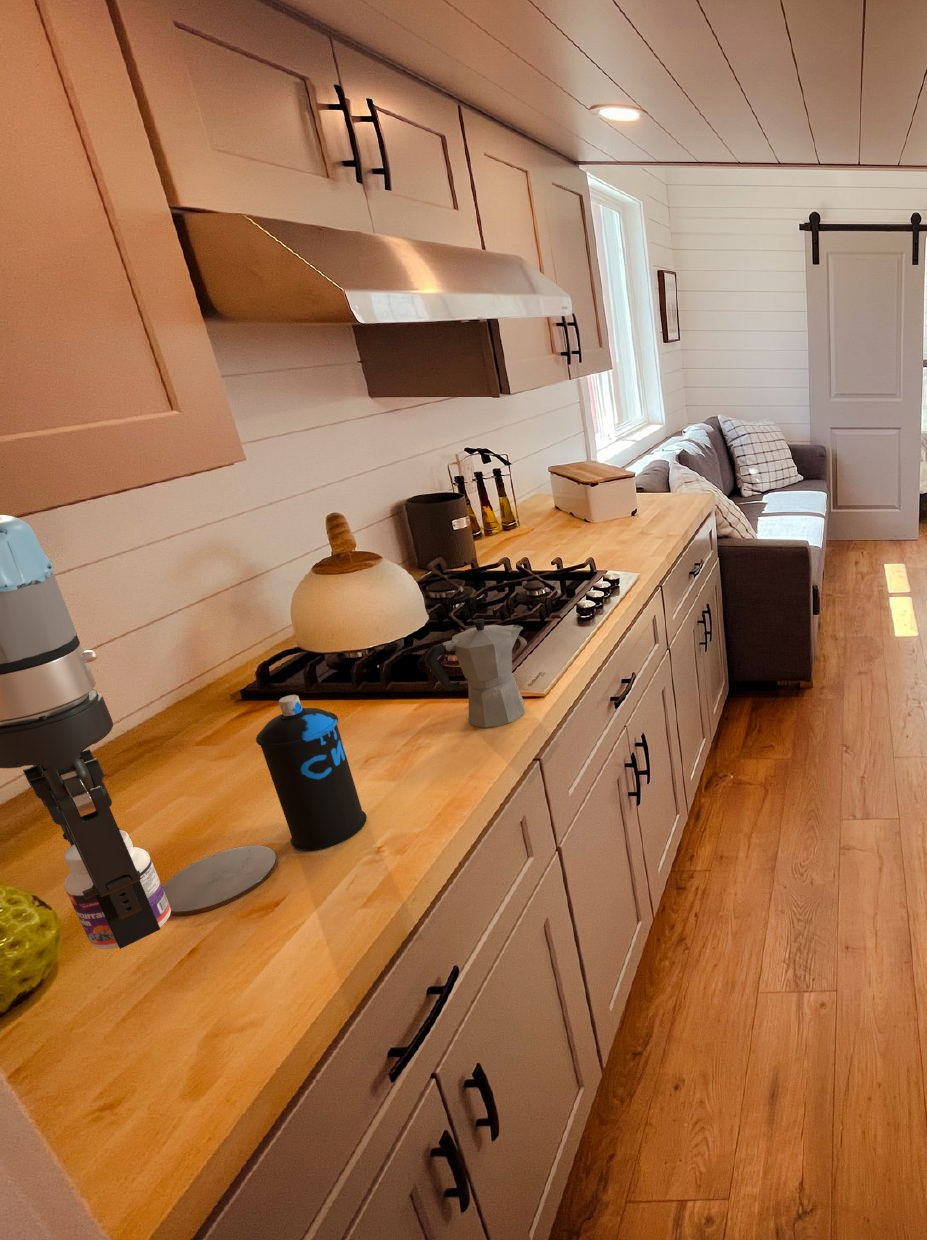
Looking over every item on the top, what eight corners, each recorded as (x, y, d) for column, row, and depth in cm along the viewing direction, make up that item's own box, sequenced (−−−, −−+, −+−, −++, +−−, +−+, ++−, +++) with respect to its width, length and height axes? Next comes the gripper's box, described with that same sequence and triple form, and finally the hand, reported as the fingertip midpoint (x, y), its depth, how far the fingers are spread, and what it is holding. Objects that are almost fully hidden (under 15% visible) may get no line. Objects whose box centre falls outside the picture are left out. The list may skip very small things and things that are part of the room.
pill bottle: (74, 947, 64) (33, 862, 61) (139, 902, 69) (104, 821, 66) (125, 955, 63) (86, 869, 60) (188, 909, 68) (155, 827, 65)
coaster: (134, 924, 79) (132, 920, 79) (192, 857, 89) (190, 853, 89) (250, 904, 82) (248, 900, 82) (294, 842, 92) (292, 838, 92)
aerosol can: (275, 852, 90) (226, 716, 83) (320, 810, 98) (279, 682, 91) (340, 851, 91) (298, 715, 84) (380, 809, 98) (344, 682, 91)
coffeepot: (523, 691, 130) (507, 601, 124) (547, 709, 124) (531, 615, 118) (432, 724, 119) (408, 627, 113) (453, 745, 113) (430, 644, 107)
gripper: (128, 720, 56) (215, 941, 64) (73, 658, 66) (155, 857, 74) (-18, 764, 50) (98, 1002, 58) (-55, 689, 60) (49, 902, 68)
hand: (130, 921), depth 66 cm, fingers closed on pill bottle, 5 cm apart
